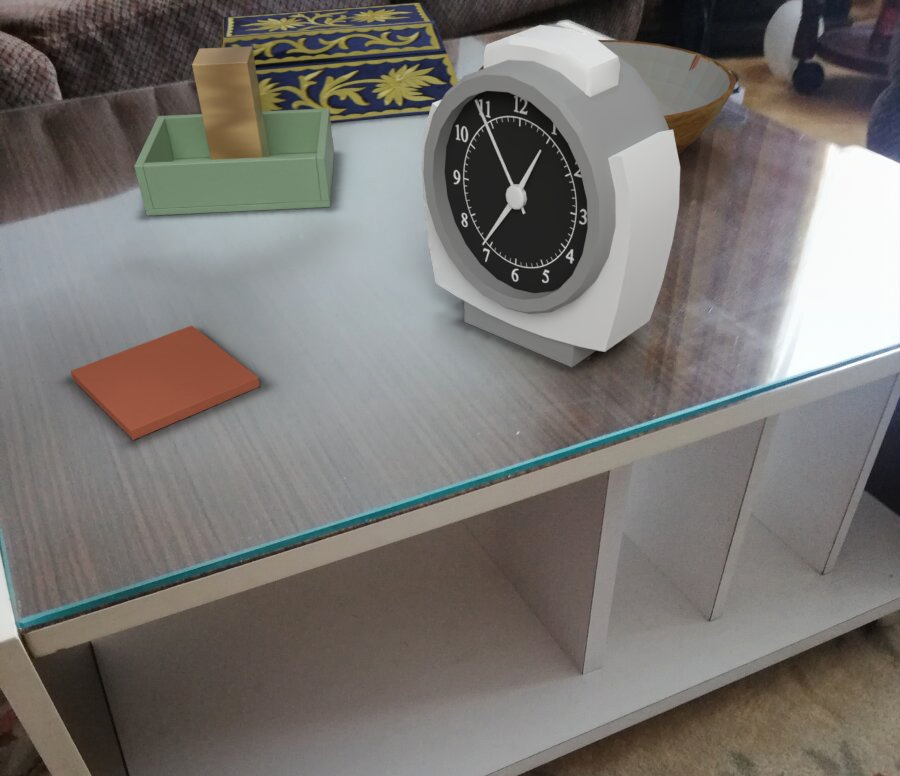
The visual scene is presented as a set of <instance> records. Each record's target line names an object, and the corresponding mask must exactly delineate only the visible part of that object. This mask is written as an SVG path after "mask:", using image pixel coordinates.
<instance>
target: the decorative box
mask: <svg viewBox="0 0 900 776" xmlns="http://www.w3.org/2000/svg"><path fill="white" fill-rule="evenodd" d="M250 46H252V48H253V55H254V61H255V67H256V74H257V80H258V87H259V93H260V99H261V106H262V111H283V110H305V109H329V111H330V120H331V123H339V122H340V123H341V122H352V121H353V122H354V121H361V120H374V119H385V118H386V119H387V118H397V117H406V116H407V117H408V116H417V115H429V113H430V109H431V106H432V103H434V102H436V101H439V100H442V99H443V97H444V95H445V93H446V92H447V91H448V90H449V89H450V88H452V87H453V86H454V85H455V84H456V83H457V82H458V81H459V80H458V78H457V75H456V73H455V70H454V67H453V66H452V65H453V64H452V62H451V59H450V58H449V55H448V52H447V50H446V47H445V44H444V42H443V40H442V37H441V34H440V31H439V30H438V26H437V24H436V21H435V19H434V18H433V17H432V15H431V14H430V13H429V11H428V10H427V8H426V7H425V6H424V4H423V3H422V1H419V2H404V3H391V4H380V5H379V4H378V5H365V6H364V5H363V6H354V7H353V6H351V7H338V8H337V7H336V8H326V9H324V8H323V9H313V10H300V11H286V12H273V13H272V12H271V13H260V14H247V15H234V16H233V15H232V16H224V17H223V21H222V28H221V34H220V41H219V47H218V48H227V47H250Z"/></svg>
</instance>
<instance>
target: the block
mask: <svg viewBox="0 0 900 776" xmlns="http://www.w3.org/2000/svg"><path fill="white" fill-rule="evenodd" d="M191 67H192V73H193V78H194V82H195V87H196V91H197V97H198V101H199V107H200V113H201V114H202V117H203V122H204V127H205V132H206V137H207V142H208V147H209V152H210V157H211V160H218V159H240V158H261V157H269V150H268V144H267V138H266V131H265V125H264V118H263V112H262V106H261V99H260V93H259V87H258V80H257V74H256V67H255V61H254V55H253V48H252V46H250V47H227V48H219V47H208V48H199V49H198V51H197V53H196V55H195V57H194V60H193V62H192V63H191Z"/></svg>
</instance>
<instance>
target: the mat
mask: <svg viewBox="0 0 900 776" xmlns="http://www.w3.org/2000/svg"><path fill="white" fill-rule="evenodd" d="M70 374H71V377H72V380H73V381H74V382H75V383H76V385H78V386H79V387H80V388H81V389H82V390H83V391H84V392H85V393H86V395H88V396H89V397H90V398H91V399H92V400H93V401H94V402H95V403H96V404H97V406H99V407H100V408H101V409H102V410H103V411H104V413H106V415H107V416H109V417H110V419H112V420H113V421H114V422H115V424H117V425H118V426H119V427H120V428H121V429H122V430H123V431H124V432H125V433H126V435H128V436H129V437H130V438H131V439H132V440H133V441H135V440H137V439H139V438H142V437H144V436H147V435H148V434H151V433H153V432H156V431H158V430H161V429H163V428H165V427H168V426H170V425H173V424H175V423H177V422H180V421H181V420H184V419H186V418H189V417H191V416H193V415H196V414H198V413H201V412H204V411H205V410H208V409H210V408H213V407H215V406H217V405H220V404H223V403H224V402H227V401H229V400H232V399H234V398H236V397H238V396H241V395H243V394H246V393H248V392H251V391H253V390H256V389H258V388H260V380H259V377H258V375H256V374H254V373H253V372H252V371H251V370H250V369H249V368H247V367H246V366H245V365H244V364H242V363H241V362H239V361H238V360H237V359H235V358H234V357H233V356H232V355H231V354H229V353H228V352H227V351H225V350H224V349H223V348H221V347H220V346H219V345H218V344H216V343H215V342H214V341H213V340H211V339H210V338H209V337H207V336H206V335H205V334H204V333H202V332H201V331H200V330H198V329H197V328H196V327H195V326H194V325H192V324H191V325H189V326H186V327H183V328H181V329H178V330H175V331H173V332H170V333H168V334H165V335H161V336H160V337H157V338H154V339H151V340H149V341H146V342H144V343H141V344H138V345H135V346H132V347H130V348H128V349H125V350H123V351H120V352H117V353H114V354H112V355H109V356H106V357H103V358H101V359H99V360H95V361H92V362H91V363H87V364H85V365H82V366H79V367H76V368H74V369H71V370H70Z"/></svg>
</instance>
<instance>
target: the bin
mask: <svg viewBox="0 0 900 776" xmlns="http://www.w3.org/2000/svg"><path fill="white" fill-rule="evenodd" d="M262 112H263V118H264V125H265V131H266V138H267V144H268V150H269V157H261V158H240V159H218V160H211V157H210V152H209V147H208V142H207V137H206V132H205V127H204V122H203V117H202V113H198V114H197V113H196V114H173V115H158V116H157V118H156V119H155V121H154V124H153V126H152V127H151V130H150V132H149V135H148V136H147V138H146V141H145V143H144V145H143V147H142V149H141V151H140V153H139V155H138V157H137V159H136V162H135V163H134V165H133V168H134V172H135V176H136V179H137V183H138V187H139V191H140V194H141V199H142V202H143V206H144V209H145V213H146V216H169V215H170V216H171V215H188V214H189V215H191V214H211V213H231V212H232V213H233V212H251V211H255V212H256V211H274V210H276V211H277V210H293V209H294V210H297V209H315V208H330V207H331V201H332V199H331V198H332V189H333V188H332V187H333V175H334V162H335V150H334V140H333V131H332V122H331V120H330V111H329V109H305V110H283V111H262Z"/></svg>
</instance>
